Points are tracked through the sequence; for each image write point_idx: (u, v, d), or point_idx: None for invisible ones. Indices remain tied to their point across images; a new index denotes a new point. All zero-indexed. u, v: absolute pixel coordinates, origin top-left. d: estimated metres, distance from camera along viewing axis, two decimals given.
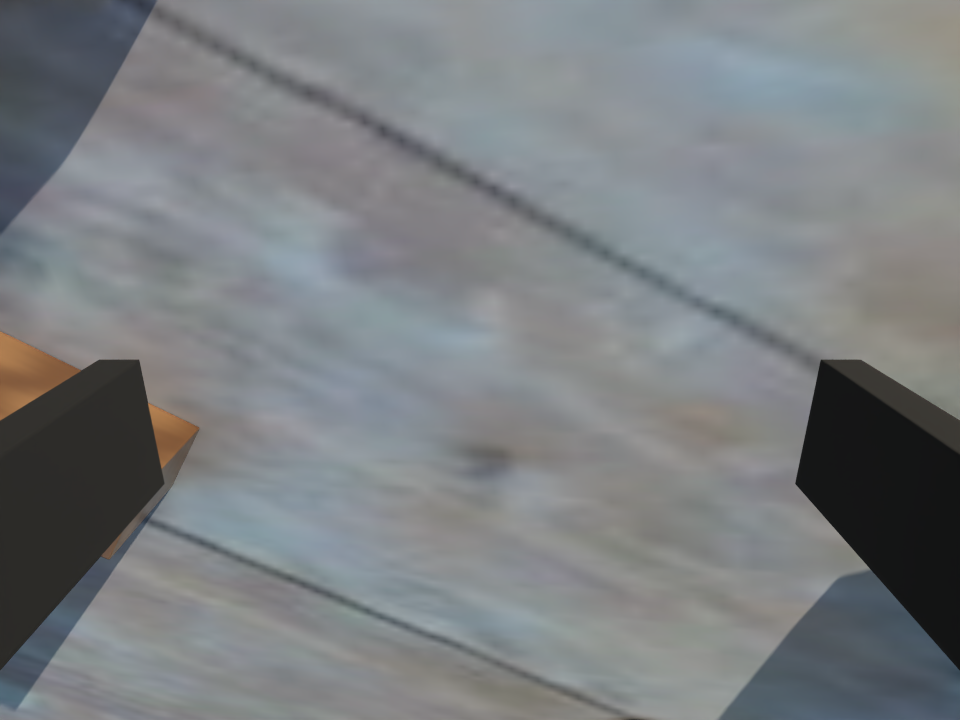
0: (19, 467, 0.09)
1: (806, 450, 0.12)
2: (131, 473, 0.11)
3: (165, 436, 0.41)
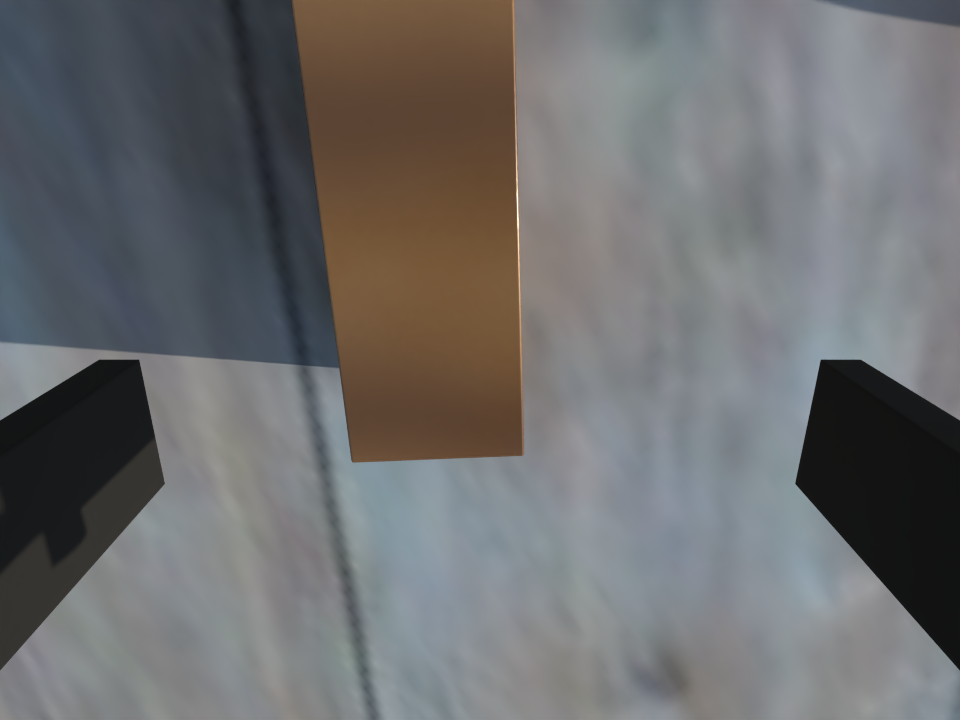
0: (19, 467, 0.09)
1: (806, 450, 0.12)
2: (131, 473, 0.11)
3: None
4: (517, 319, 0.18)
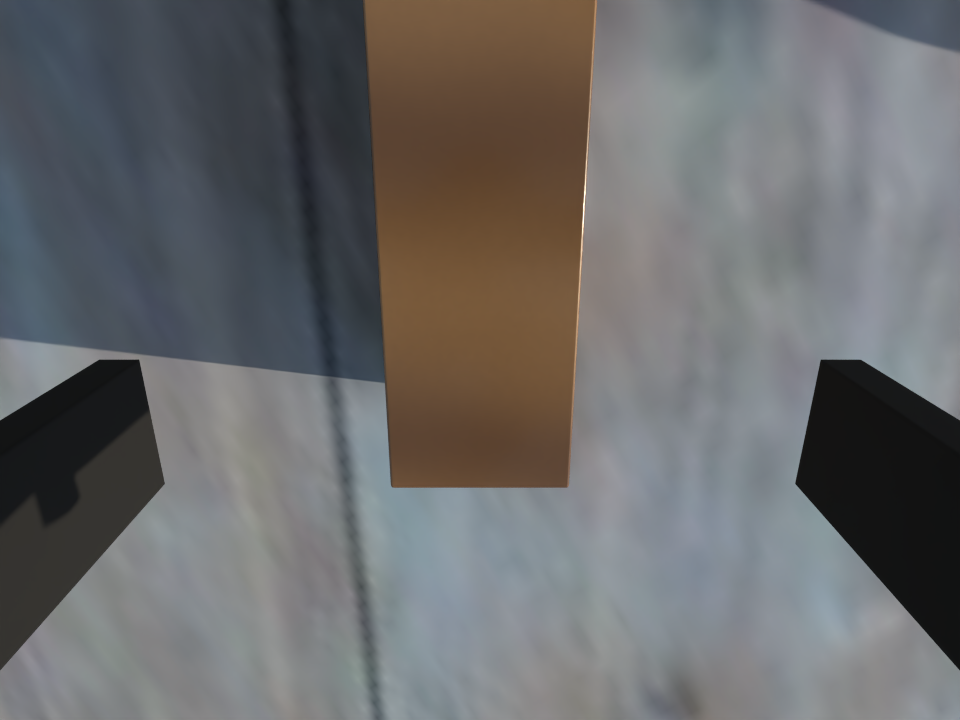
0: (19, 467, 0.09)
1: (806, 450, 0.12)
2: (131, 473, 0.11)
3: None
4: (572, 350, 0.18)
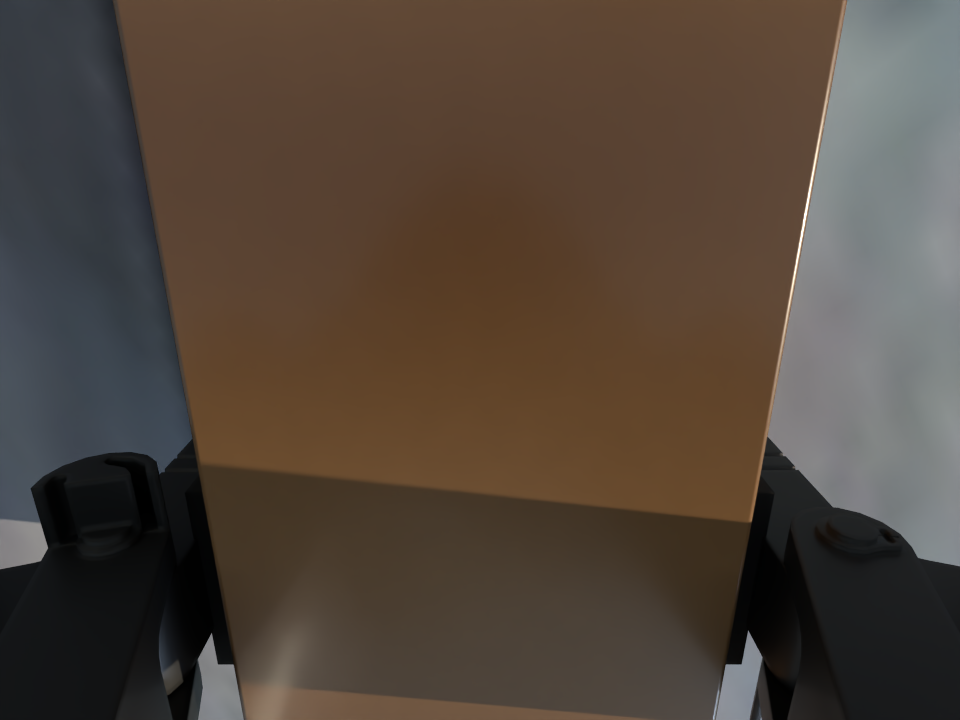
0: None
1: None
2: None
3: None
4: (712, 688, 0.07)
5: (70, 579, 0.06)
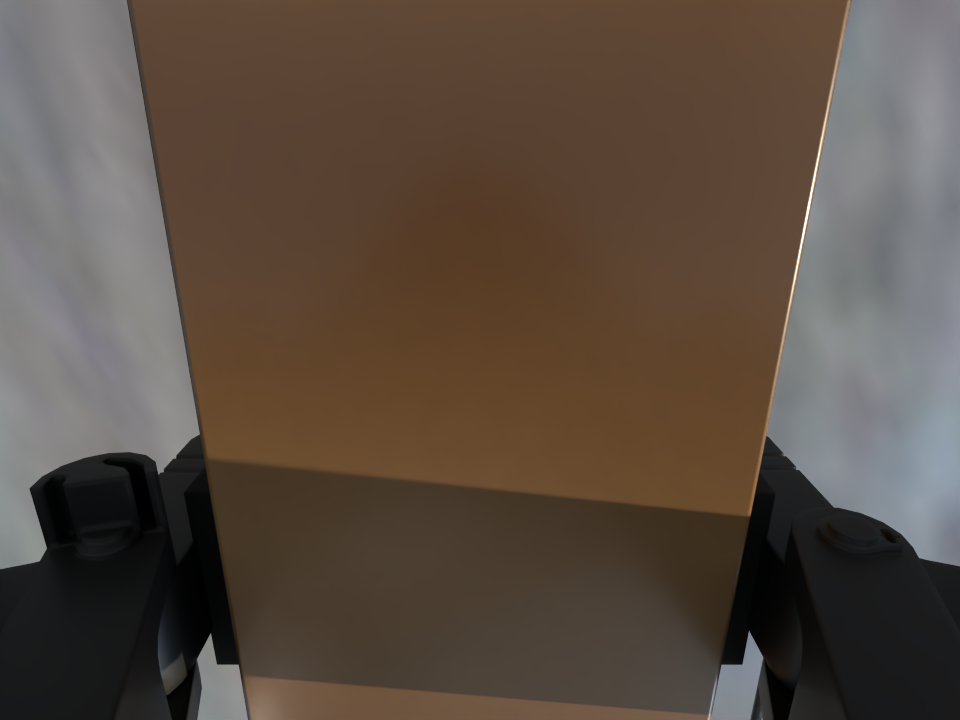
0: None
1: None
2: None
3: None
4: (710, 679, 0.07)
5: (69, 579, 0.06)
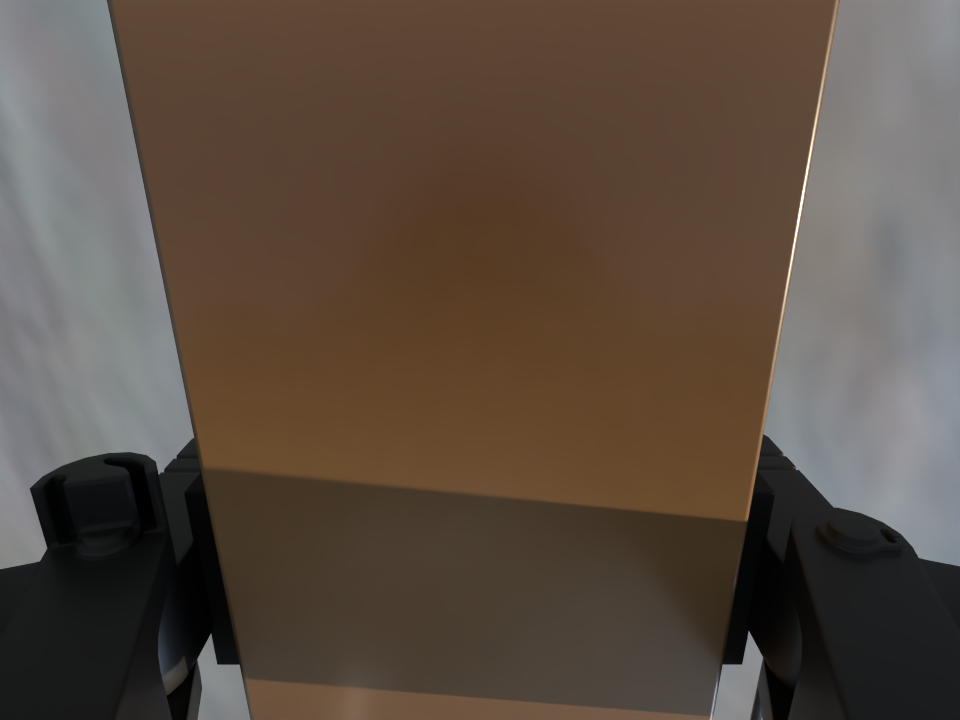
0: None
1: None
2: None
3: None
4: (712, 675, 0.07)
5: (69, 579, 0.06)
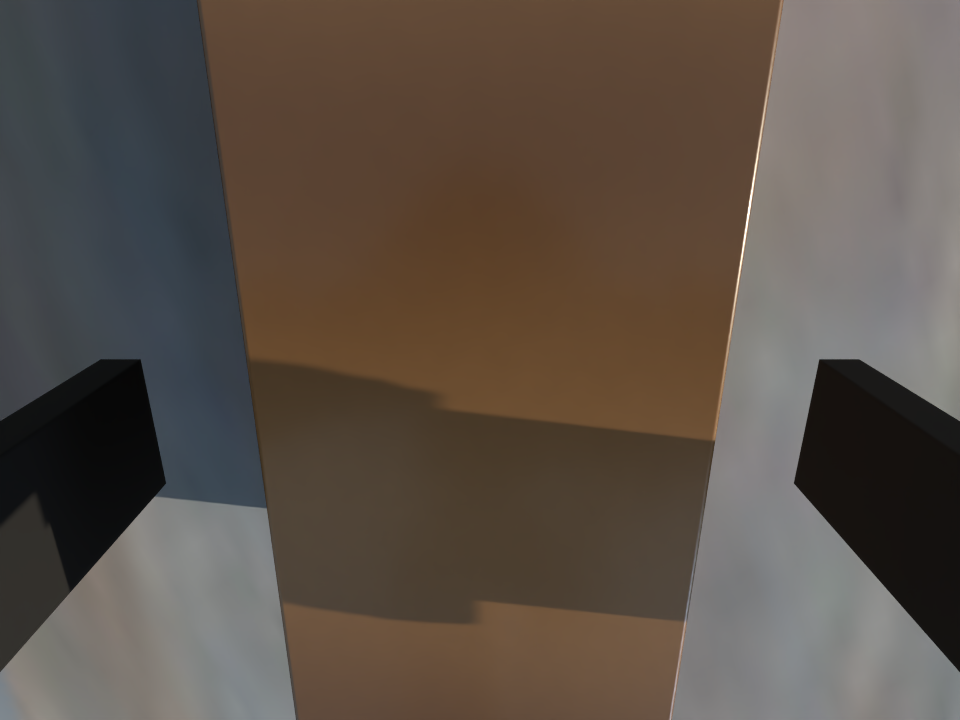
0: (21, 467, 0.09)
1: (805, 449, 0.12)
2: (132, 473, 0.11)
3: None
4: (683, 597, 0.08)
5: None
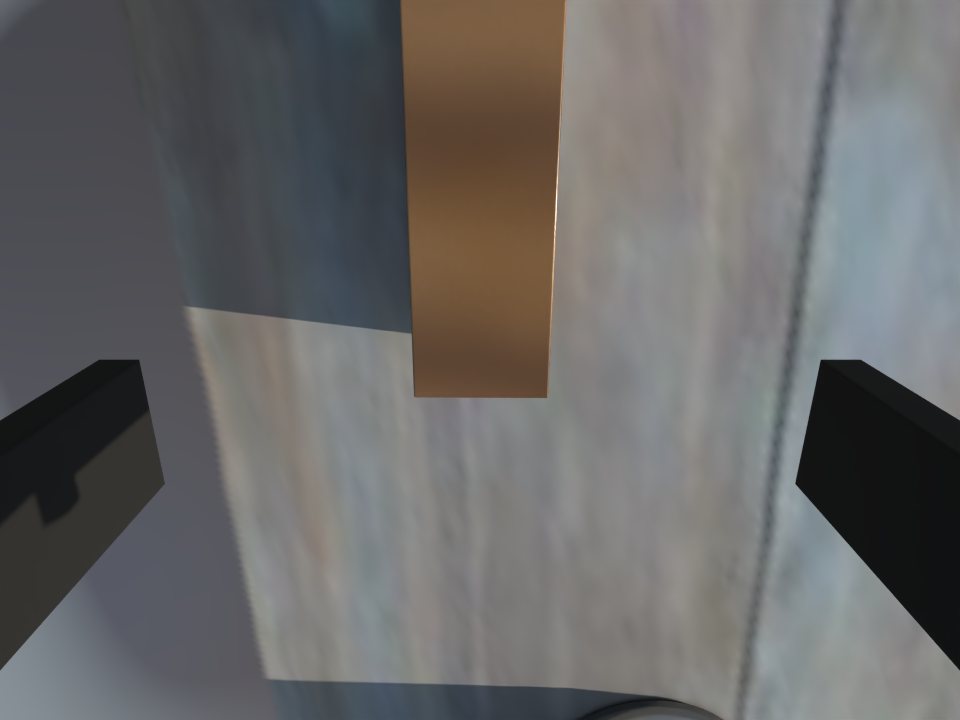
0: (19, 467, 0.09)
1: (806, 450, 0.12)
2: (131, 473, 0.11)
3: None
4: (549, 290, 0.24)
5: None
